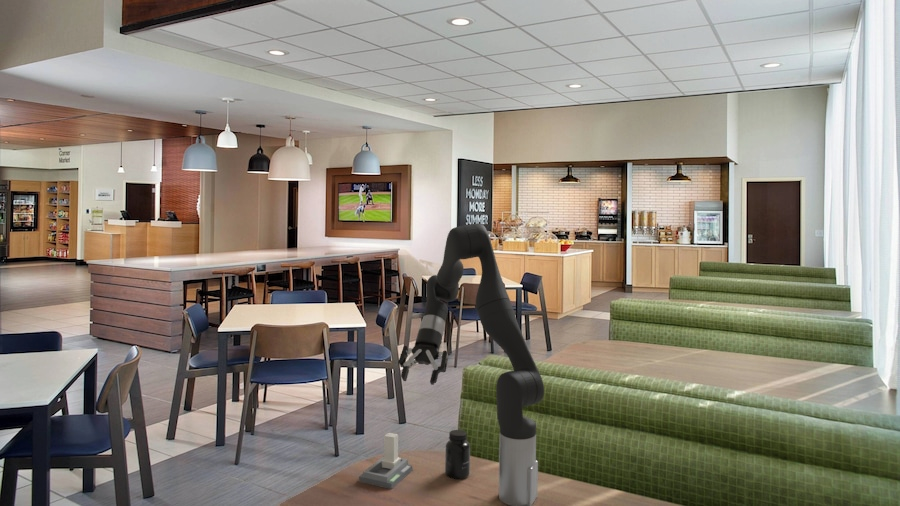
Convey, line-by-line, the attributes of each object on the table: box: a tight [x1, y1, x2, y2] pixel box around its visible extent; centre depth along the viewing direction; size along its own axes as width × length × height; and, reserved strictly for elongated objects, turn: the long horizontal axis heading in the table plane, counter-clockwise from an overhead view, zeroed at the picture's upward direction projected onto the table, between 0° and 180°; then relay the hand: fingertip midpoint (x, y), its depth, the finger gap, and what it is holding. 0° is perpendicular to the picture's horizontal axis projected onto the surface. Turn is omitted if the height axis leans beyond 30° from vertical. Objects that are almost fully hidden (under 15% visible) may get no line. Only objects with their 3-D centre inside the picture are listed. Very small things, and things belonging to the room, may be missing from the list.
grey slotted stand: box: [358, 455, 413, 490], centre depth 168 cm, size 10×12×3 cm
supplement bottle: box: [444, 429, 471, 480], centre depth 168 cm, size 7×7×12 cm
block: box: [382, 432, 402, 469], centre depth 170 cm, size 4×4×9 cm
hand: (417, 381), depth 177 cm, fingers open, 8 cm apart
